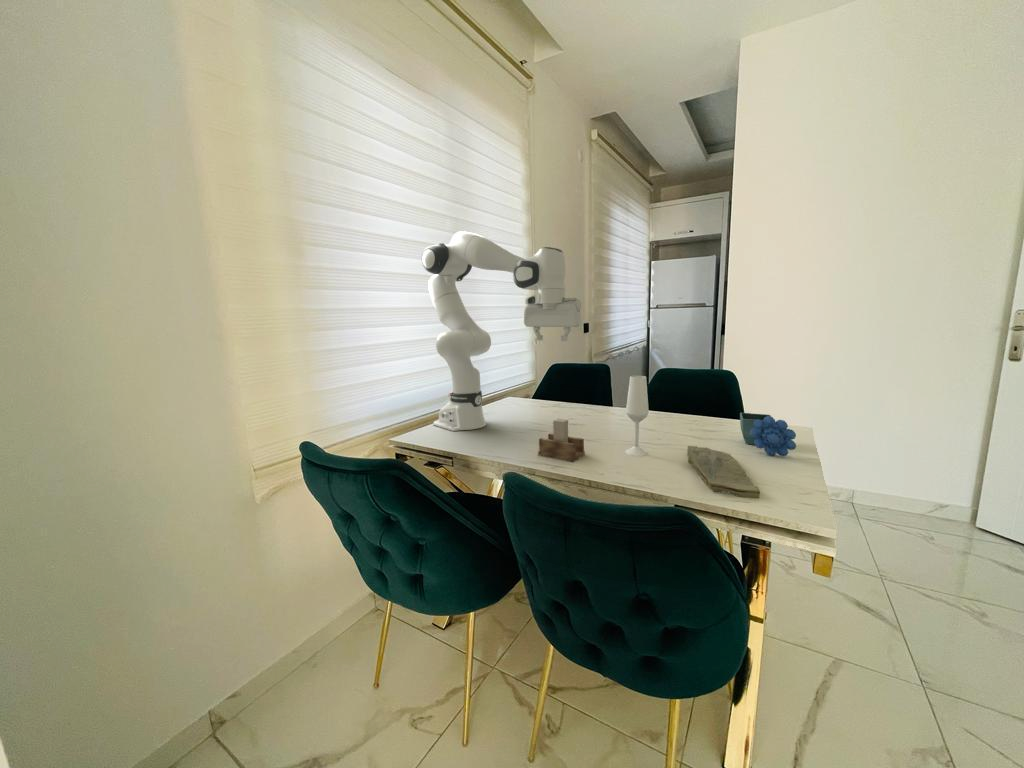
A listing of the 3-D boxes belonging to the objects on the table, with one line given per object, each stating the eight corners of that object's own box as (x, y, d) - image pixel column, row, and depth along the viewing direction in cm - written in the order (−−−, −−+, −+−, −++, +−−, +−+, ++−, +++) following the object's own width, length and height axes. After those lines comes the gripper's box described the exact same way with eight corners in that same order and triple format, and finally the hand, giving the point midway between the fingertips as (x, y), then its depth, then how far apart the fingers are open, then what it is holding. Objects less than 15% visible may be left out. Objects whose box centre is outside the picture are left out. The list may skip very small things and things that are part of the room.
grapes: (748, 457, 117) (750, 417, 115) (748, 450, 122) (751, 412, 120) (796, 463, 111) (800, 422, 109) (794, 456, 116) (797, 416, 114)
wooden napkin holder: (538, 455, 123) (538, 439, 122) (551, 448, 130) (550, 433, 129) (573, 462, 116) (573, 445, 115) (584, 454, 123) (584, 438, 122)
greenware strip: (553, 451, 122) (553, 420, 121) (558, 449, 125) (558, 418, 123) (563, 453, 121) (563, 422, 119) (568, 450, 123) (568, 419, 121)
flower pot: (772, 448, 123) (774, 421, 122) (740, 445, 127) (741, 418, 125) (768, 440, 131) (770, 414, 129) (737, 437, 135) (739, 412, 133)
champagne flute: (647, 456, 119) (649, 378, 115) (624, 454, 121) (625, 378, 117) (647, 449, 125) (649, 375, 122) (625, 448, 128) (627, 375, 124)
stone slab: (725, 446, 119) (765, 483, 90) (724, 459, 119) (764, 500, 90) (681, 443, 121) (706, 479, 92) (681, 456, 122) (705, 496, 93)
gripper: (585, 297, 126) (584, 341, 128) (531, 299, 137) (531, 339, 140) (576, 297, 121) (575, 342, 123) (521, 299, 132) (521, 340, 135)
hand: (551, 340), depth 132 cm, fingers open, 8 cm apart
